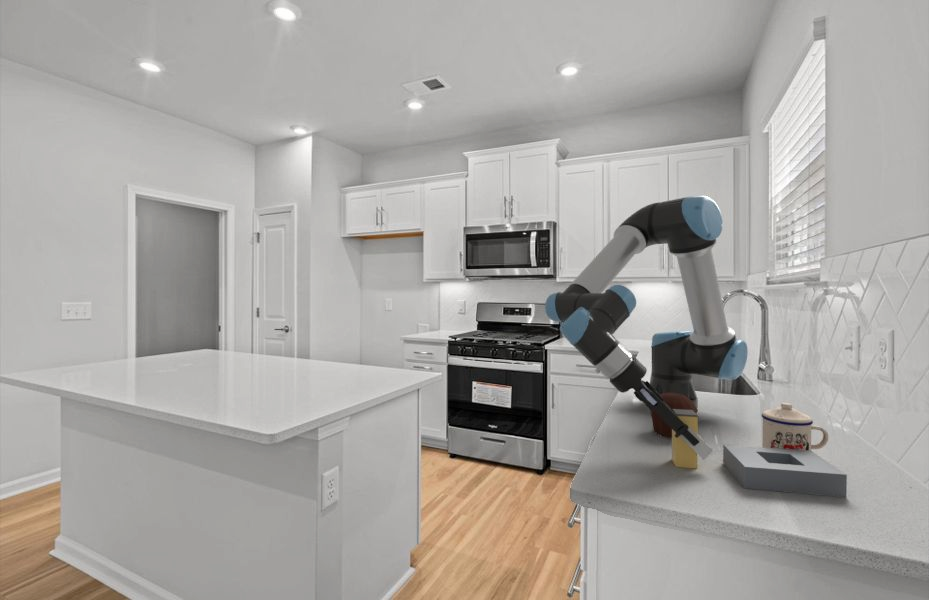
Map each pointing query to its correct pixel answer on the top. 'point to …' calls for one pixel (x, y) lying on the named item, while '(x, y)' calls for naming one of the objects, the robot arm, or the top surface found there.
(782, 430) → the teacup with lid
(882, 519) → the top surface
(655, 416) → the muffin
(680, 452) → the plug
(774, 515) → the top surface
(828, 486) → the socket plate
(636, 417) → the top surface
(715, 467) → the top surface
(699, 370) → the robot arm
